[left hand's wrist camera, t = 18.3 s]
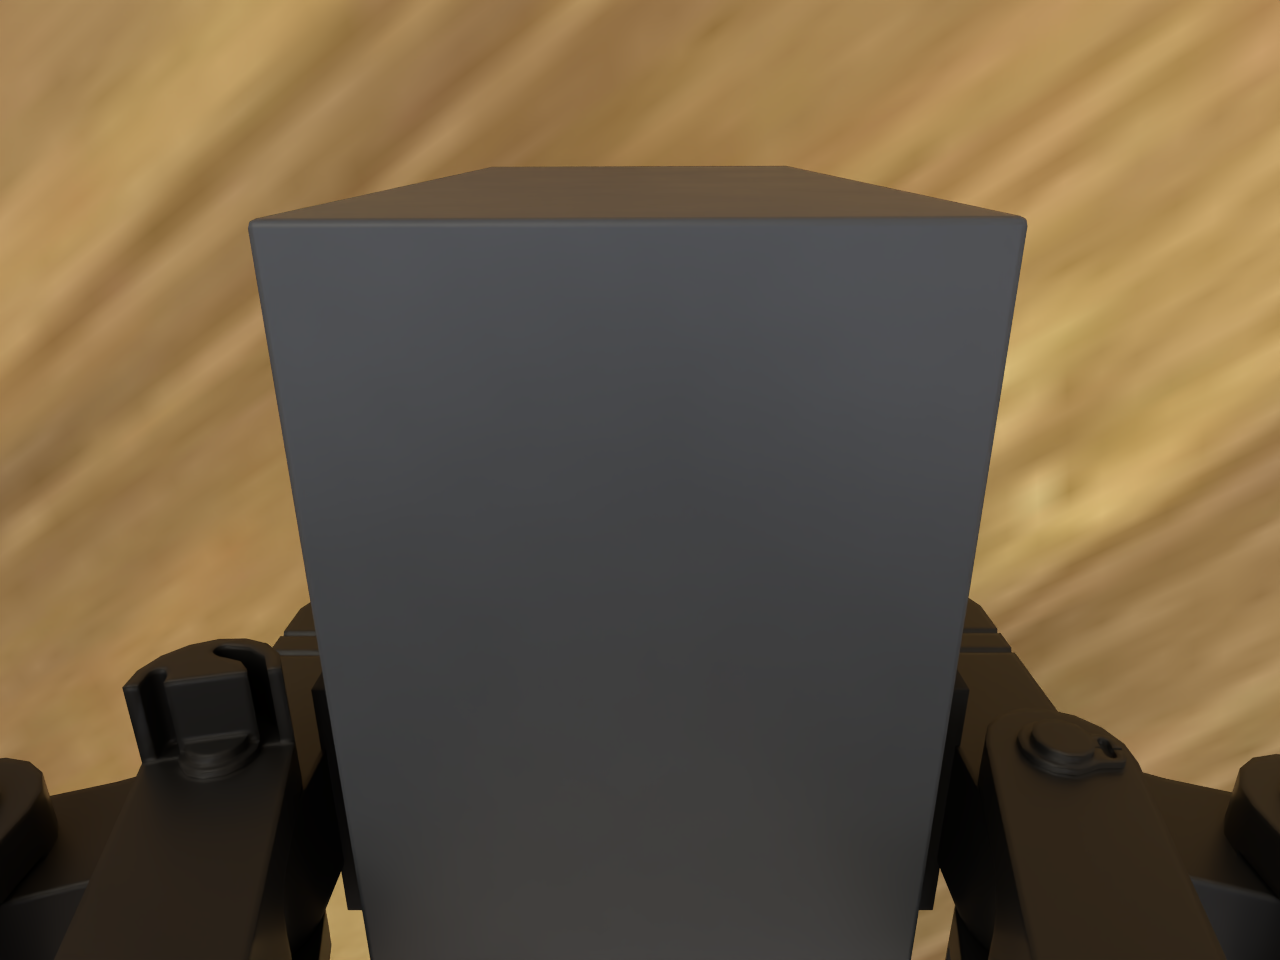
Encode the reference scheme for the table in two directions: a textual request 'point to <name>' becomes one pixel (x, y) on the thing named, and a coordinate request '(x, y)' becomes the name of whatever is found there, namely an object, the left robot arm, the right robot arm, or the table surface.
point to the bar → (639, 546)
